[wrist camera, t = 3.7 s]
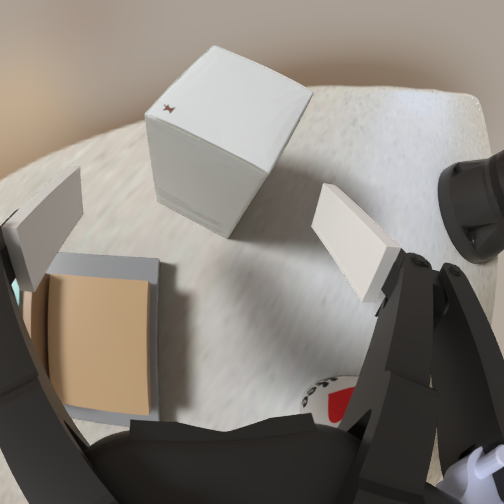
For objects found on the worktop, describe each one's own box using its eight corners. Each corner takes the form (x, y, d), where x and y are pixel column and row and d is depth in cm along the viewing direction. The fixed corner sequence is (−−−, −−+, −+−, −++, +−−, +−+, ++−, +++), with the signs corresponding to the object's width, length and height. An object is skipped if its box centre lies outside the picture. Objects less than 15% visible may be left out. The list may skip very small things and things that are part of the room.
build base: (160, 261, 24) (153, 246, 18) (160, 423, 21) (155, 451, 15) (-19, 249, 19) (-52, 234, 14) (-20, 385, 16) (-52, 395, 11)
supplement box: (227, 241, 25) (269, 178, 13) (154, 201, 25) (138, 112, 13) (263, 176, 27) (318, 91, 15) (196, 141, 27) (212, 40, 15)
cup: (353, 353, 26) (426, 364, 16) (363, 422, 25) (428, 452, 15) (276, 378, 24) (330, 412, 14) (292, 451, 23) (342, 503, 13)
